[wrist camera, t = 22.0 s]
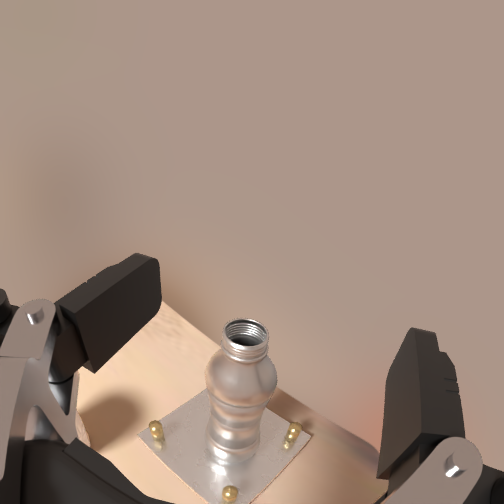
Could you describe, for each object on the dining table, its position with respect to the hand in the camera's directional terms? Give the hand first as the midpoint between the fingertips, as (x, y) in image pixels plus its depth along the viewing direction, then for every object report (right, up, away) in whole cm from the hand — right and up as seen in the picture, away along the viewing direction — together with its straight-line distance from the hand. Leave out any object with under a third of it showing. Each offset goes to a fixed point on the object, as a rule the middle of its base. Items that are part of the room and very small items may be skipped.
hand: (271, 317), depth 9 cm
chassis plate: (-4, -23, +25) cm, 34 cm away
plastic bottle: (-3, -22, +24) cm, 33 cm away
